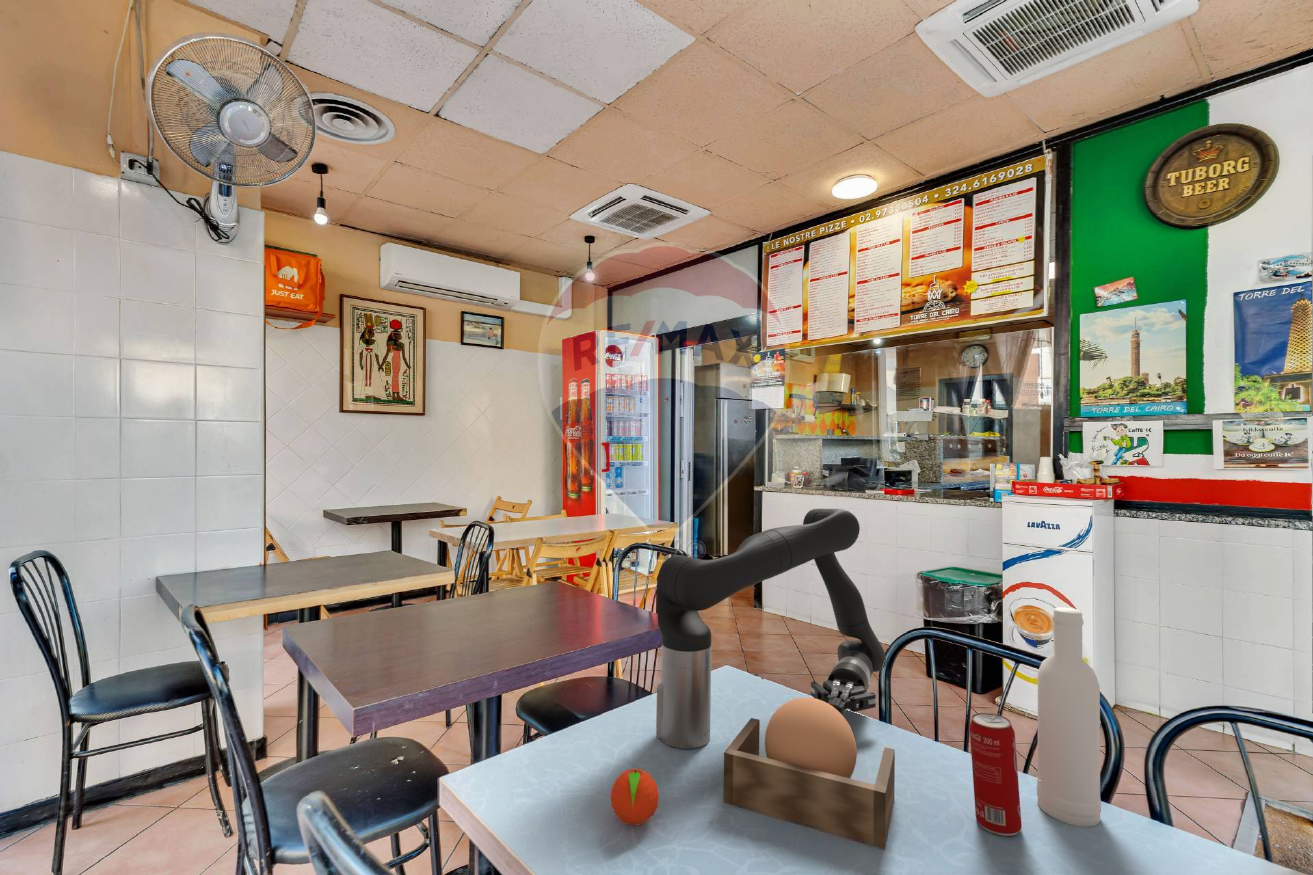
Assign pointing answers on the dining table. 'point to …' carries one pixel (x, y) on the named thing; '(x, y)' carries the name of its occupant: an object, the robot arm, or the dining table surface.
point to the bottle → (1068, 728)
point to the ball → (811, 737)
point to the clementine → (634, 797)
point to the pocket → (809, 792)
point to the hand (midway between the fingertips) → (834, 711)
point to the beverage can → (995, 774)
